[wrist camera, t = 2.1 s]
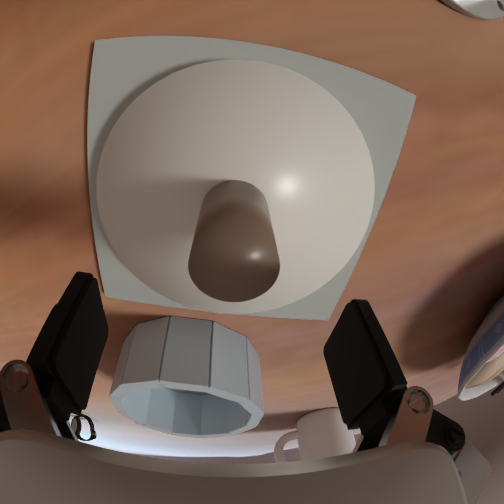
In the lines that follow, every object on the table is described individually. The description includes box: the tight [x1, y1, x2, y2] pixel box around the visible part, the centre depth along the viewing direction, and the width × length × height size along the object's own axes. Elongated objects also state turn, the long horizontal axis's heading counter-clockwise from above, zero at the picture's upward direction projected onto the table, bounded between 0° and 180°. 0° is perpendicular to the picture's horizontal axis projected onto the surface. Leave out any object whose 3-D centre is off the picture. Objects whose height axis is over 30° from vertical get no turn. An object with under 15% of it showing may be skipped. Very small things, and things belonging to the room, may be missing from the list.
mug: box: [274, 408, 356, 463], centre depth 33 cm, size 12×8×10 cm
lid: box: [96, 59, 375, 314], centre depth 13 cm, size 16×16×6 cm
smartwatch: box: [71, 415, 96, 441], centre depth 36 cm, size 4×5×5 cm
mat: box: [87, 36, 416, 320], centre depth 16 cm, size 18×18×1 cm
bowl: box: [109, 316, 264, 438], centre depth 23 cm, size 13×13×6 cm
